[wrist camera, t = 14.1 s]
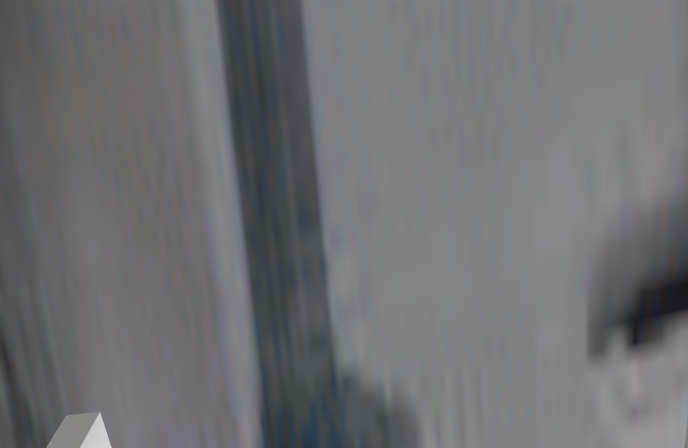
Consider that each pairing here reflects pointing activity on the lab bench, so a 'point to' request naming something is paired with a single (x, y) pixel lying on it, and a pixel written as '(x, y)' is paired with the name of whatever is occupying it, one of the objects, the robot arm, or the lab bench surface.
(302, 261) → the lab bench surface
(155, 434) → the lab bench surface
